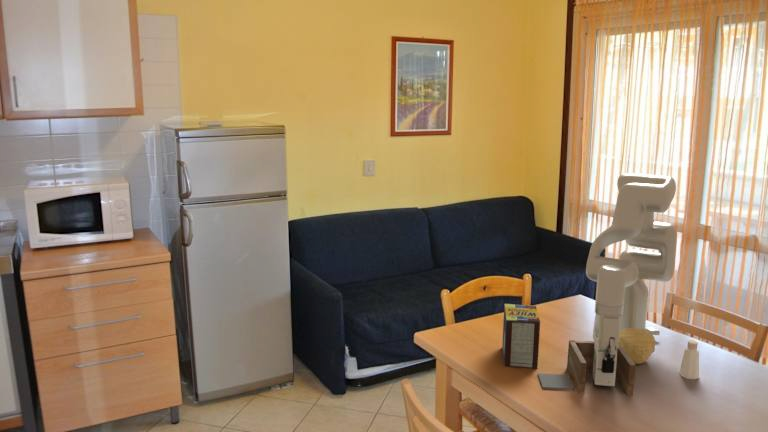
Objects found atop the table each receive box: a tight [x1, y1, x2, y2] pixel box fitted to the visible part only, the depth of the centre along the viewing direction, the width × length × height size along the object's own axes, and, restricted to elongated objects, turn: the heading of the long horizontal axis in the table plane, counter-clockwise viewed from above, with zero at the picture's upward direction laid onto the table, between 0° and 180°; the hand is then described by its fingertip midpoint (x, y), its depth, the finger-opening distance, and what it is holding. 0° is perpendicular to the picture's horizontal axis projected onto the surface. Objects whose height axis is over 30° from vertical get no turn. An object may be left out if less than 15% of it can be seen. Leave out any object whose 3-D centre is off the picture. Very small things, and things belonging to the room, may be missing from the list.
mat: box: [537, 372, 576, 391], centre depth 182 cm, size 9×9×1 cm
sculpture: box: [619, 328, 657, 365], centre depth 198 cm, size 11×12×11 cm
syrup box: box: [592, 335, 617, 387], centre depth 178 cm, size 6×6×14 cm
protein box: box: [501, 303, 541, 369], centre depth 198 cm, size 10×15×16 cm
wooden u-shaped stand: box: [566, 339, 637, 396], centre depth 183 cm, size 15×16×9 cm
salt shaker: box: [678, 339, 700, 380], centre depth 187 cm, size 5×5×11 cm
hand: (604, 366), depth 179 cm, fingers closed on syrup box, 6 cm apart
